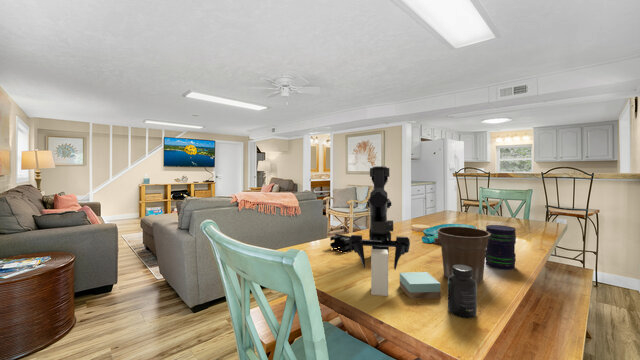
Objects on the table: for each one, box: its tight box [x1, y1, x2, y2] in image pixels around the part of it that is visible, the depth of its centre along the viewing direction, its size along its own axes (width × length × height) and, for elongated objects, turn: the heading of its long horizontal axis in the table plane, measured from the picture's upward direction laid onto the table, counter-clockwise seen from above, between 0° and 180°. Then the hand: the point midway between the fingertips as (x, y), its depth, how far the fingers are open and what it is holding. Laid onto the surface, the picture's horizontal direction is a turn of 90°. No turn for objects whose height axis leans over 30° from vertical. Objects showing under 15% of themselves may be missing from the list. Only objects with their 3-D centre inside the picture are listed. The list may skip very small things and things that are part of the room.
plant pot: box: [436, 226, 490, 284], centre depth 97 cm, size 16×16×16 cm
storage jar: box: [485, 224, 517, 271], centre depth 108 cm, size 10×10×15 cm
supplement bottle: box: [447, 265, 478, 319], centre depth 73 cm, size 7×7×12 cm
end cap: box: [329, 233, 352, 253], centre depth 132 cm, size 10×7×7 cm
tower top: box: [399, 271, 441, 293], centre depth 86 cm, size 9×9×2 cm
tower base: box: [399, 280, 442, 300], centre depth 86 cm, size 9×9×2 cm
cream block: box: [370, 248, 389, 297], centre depth 86 cm, size 5×5×12 cm
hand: (379, 268), depth 86 cm, fingers open, 9 cm apart
